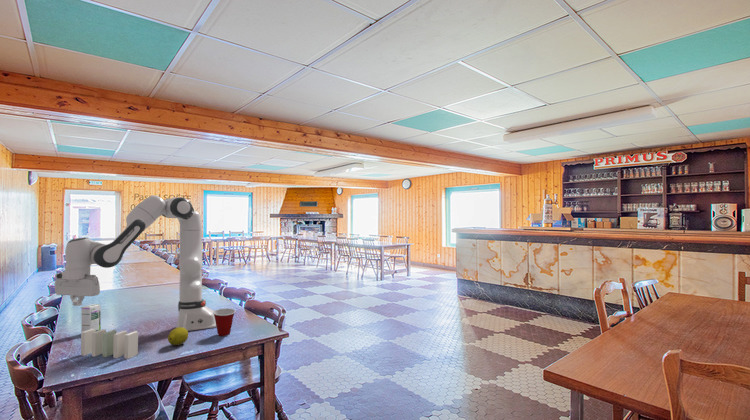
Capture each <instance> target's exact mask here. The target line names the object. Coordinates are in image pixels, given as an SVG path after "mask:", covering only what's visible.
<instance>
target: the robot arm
mask: <svg viewBox="0 0 750 420" xmlns="http://www.w3.org/2000/svg"><path fill="white" fill-rule="evenodd" d="M161 216H162V217H164V218H168V219H177V221H178V223H179V259H178V261H179V263H178V265H179V268H178V269H179V300H178V304H177V309H178V310H177V311H178V316H177V323H176V325H175V328H178V327H183V328H185V329H186V330H187V331H188V332H189V331H197V330H205V329H211V328H216V322H215V316H214V314H213V311H214V310H213V309H212V308H210V307H208V306H207V305H206V304H207V301H206V299H203V297H202V296H203V288H202V287H203V286H202V285H203V277H202V276H203V275H202V274H203V270H202V269H203V225H202V218H201V214H200V213H199V212H198V211H197V210H195V208H194V207H193V205H192V202H191V201H190V200H189V199H187V198H185V197H183V196H181V197H178V196H176V197H175V196H174V197H171V198H166V199H163V198H162V197H160V196H158V195H150V196H149V197H146V198H145V199H144V200H142V201H141V202H140V203H138V204H137V205H136V206H134V208H132V209H131V210H130V212H129V213H128V214H127V216H126V217H125V222H126V226H125V228H124V230H123V231H122V232H121V233H119V235H118V236H116V238H115V239H114V240H113V241H111V242H110V243H108V244H105V243H101V242H98V241H95V240H92V239H90V238H89V237H78V238H73V239H70V240H68V241H67V243H66V245H65V246H66V247H65V255H64V259H65V262H66V263H65V267H64V271H62V272H57V273H55V275H54V278H55V281H54V293H55V294H56V296H70V299H71V301H72V306H77V307H80V306H82V305H83V301H84V299H85V297H96V296H99V294H100V293H101V289H100V288H101V287H100V281H99V278H98V277H97V276H96V274H91V266H92V265H96V266H100V267H101V268H105V269H107V268H108V269H109V268H113V267H116V266H117V265H119V263H120V262H121V261H122V260H123V257H124V254H125V252H126V250H127V249H128V248H129V247H130V246H131V245H132V244H133V243H134V242H135V241H136V240H137V239H138V237H140V235H141V234H142V233H143V232H144V231H145V230H146V229H148V228H149V227H150V226H151V225H152V224H154V222H155V221H157V219H158V218H159V217H161Z"/></svg>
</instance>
